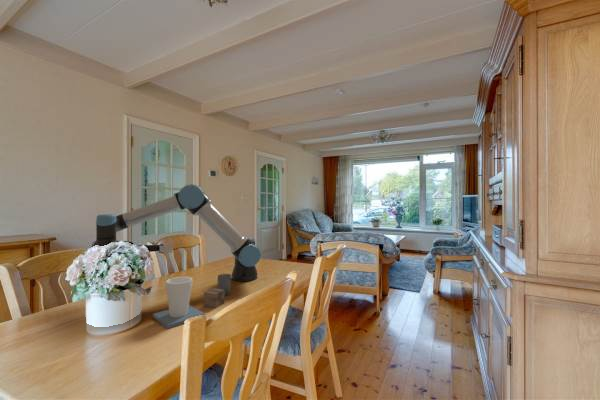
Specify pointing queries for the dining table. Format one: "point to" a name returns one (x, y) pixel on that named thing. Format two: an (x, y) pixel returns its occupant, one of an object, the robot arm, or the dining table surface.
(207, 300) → the walnut block
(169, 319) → the slate board
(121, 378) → the dining table surface
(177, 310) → the foam cup
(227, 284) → the charcoal cylinder
